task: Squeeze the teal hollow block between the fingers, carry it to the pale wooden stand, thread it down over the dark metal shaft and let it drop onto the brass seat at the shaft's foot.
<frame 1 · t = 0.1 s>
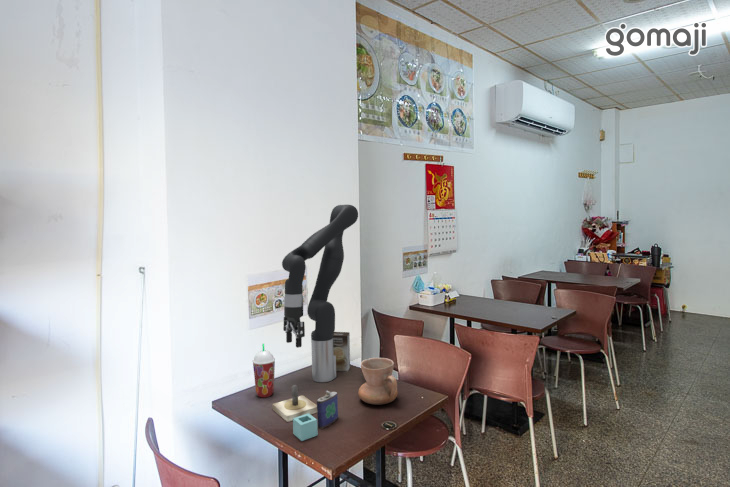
hand: (293, 344, 170), 17 cm above the table, tool pointing down, fingers open, 8 cm apart
ceramic jug: (379, 401, 156), on the table
smoothie: (265, 395, 164), on the table
flask: (328, 423, 140), on the table
teal hollow block: (305, 434, 132), on the table
shaft stand: (295, 410, 149), on the table
coffee box: (339, 369, 190), on the table
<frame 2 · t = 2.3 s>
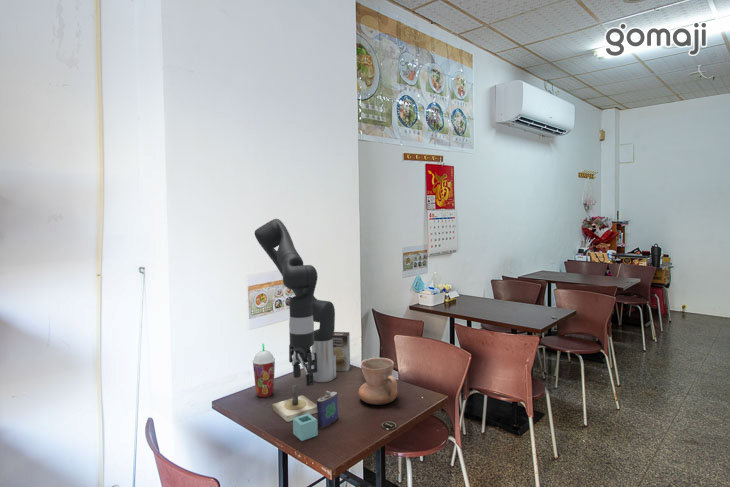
hand: (303, 381, 131), 17 cm above the table, tool pointing down, fingers open, 8 cm apart
nothing on the table moved.
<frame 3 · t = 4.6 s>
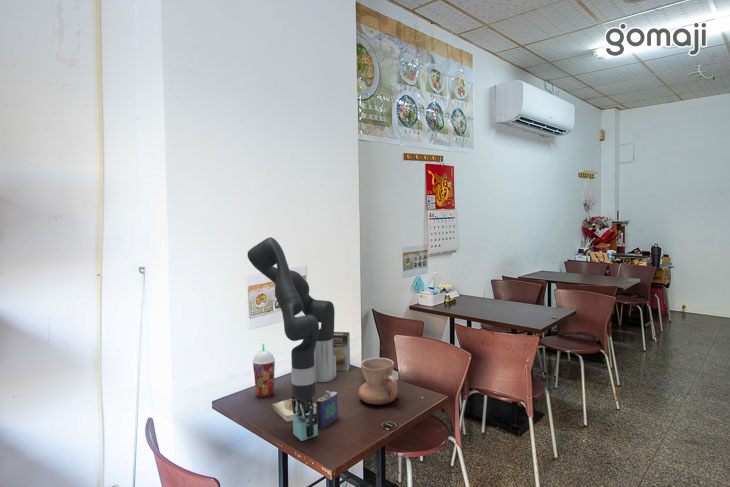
hand: (305, 432, 132), 1 cm above the table, tool pointing down, fingers closed on teal hollow block, 5 cm apart
teal hollow block: (305, 434, 132), on the table, touching gripper
everything else where it was.
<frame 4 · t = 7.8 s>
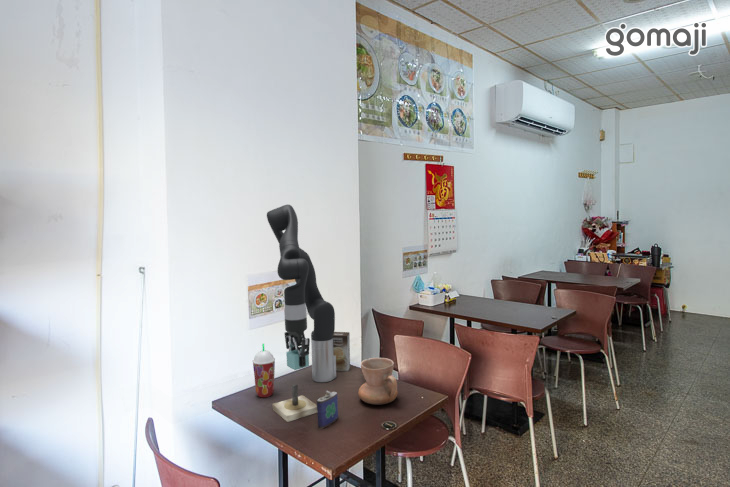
hand: (298, 364, 147), 17 cm above the table, tool pointing down, fingers closed on teal hollow block, 5 cm apart
teal hollow block: (298, 366, 147), point 16 cm above the table, touching gripper
everything else where it was.
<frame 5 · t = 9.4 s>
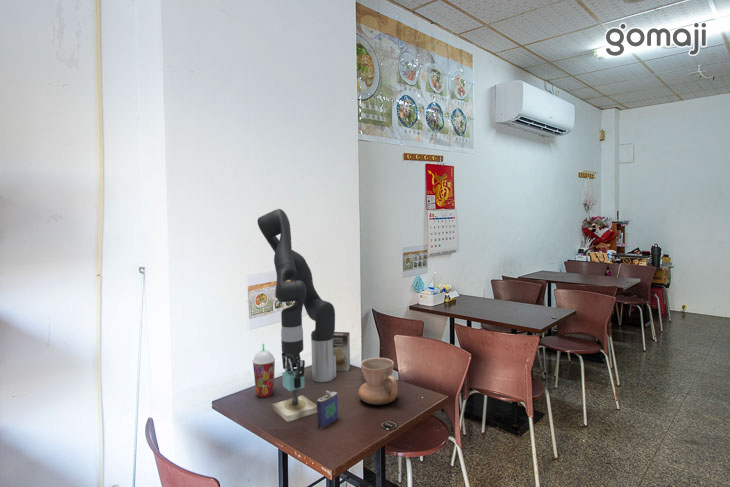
hand: (293, 384, 149), 9 cm above the table, tool pointing down, fingers closed on teal hollow block, 5 cm apart
teal hollow block: (293, 386, 149), point 9 cm above the table, touching gripper
everything else where it was.
when the fingers open (4 cm above the table, at t = 10.9 s): teal hollow block drops 1 cm, resting on shaft stand.
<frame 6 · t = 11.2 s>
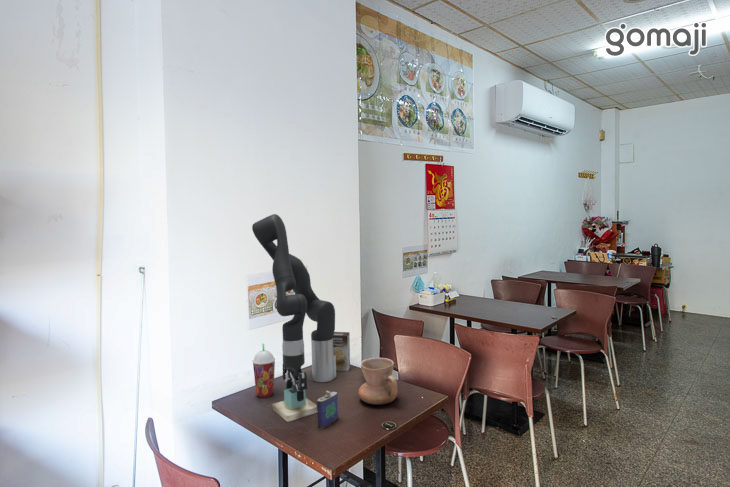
hand: (295, 396, 149), 5 cm above the table, tool pointing down, fingers open, 8 cm apart
teal hollow block: (295, 404, 149), point 2 cm above the table, touching shaft stand
everything else where it was.
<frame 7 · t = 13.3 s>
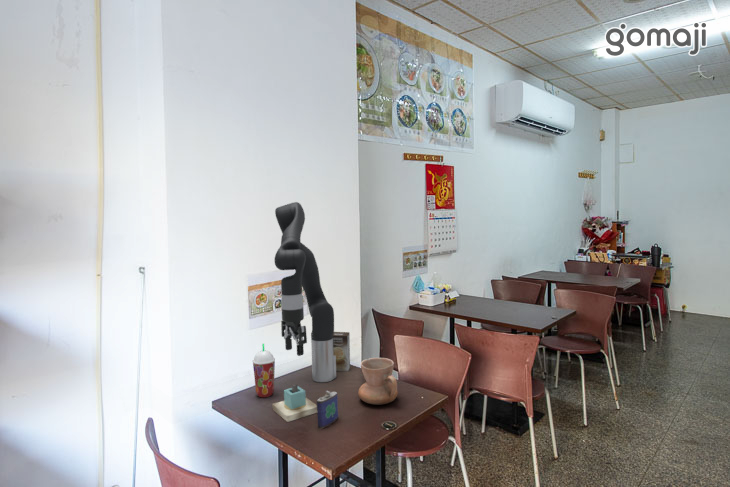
hand: (294, 352, 148), 21 cm above the table, tool pointing down, fingers open, 8 cm apart
nothing on the table moved.
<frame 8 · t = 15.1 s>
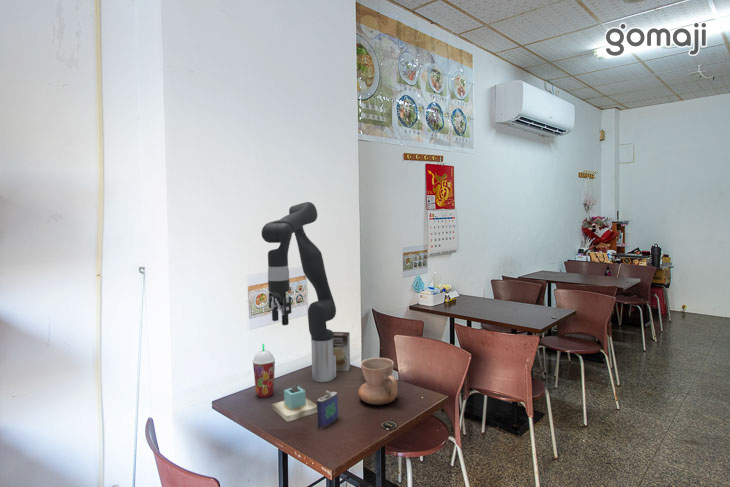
hand: (280, 322, 153), 30 cm above the table, tool pointing down, fingers open, 8 cm apart
nothing on the table moved.
at the end: teal hollow block 0.1 cm from the shaft stand (horizontally); teal hollow block point 2.3 cm above the table; the gripper is holding nothing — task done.
